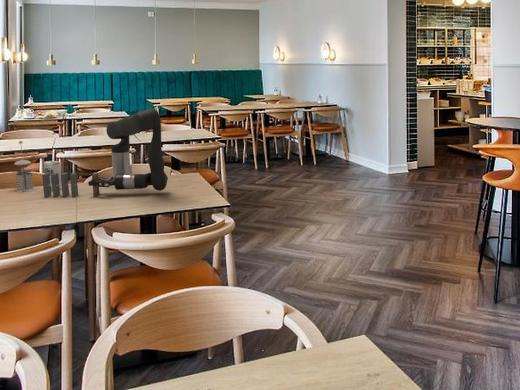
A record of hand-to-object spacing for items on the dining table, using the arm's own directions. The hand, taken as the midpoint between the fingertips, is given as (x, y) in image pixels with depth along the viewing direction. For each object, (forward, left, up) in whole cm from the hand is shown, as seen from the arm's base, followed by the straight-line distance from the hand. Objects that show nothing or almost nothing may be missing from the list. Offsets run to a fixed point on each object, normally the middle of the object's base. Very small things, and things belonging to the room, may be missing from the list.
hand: (90, 182), depth 270 cm
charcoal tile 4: (+14, -8, -7) cm, 18 cm away
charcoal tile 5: (+18, -10, -7) cm, 22 cm away
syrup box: (+11, -25, -7) cm, 29 cm away
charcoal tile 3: (+10, -6, -7) cm, 14 cm away
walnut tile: (-2, +1, -7) cm, 7 cm away
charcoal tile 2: (+7, -4, -7) cm, 10 cm away
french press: (+24, -33, -7) cm, 41 cm away
